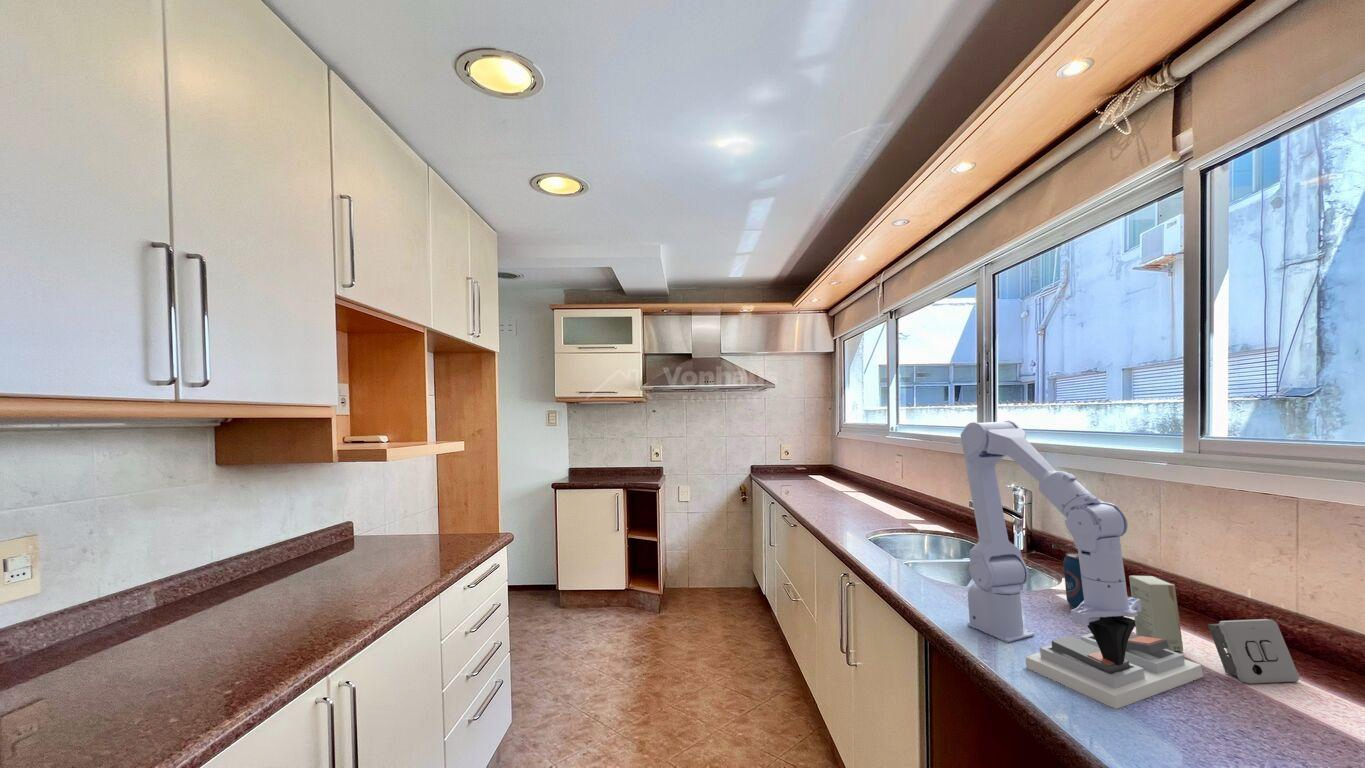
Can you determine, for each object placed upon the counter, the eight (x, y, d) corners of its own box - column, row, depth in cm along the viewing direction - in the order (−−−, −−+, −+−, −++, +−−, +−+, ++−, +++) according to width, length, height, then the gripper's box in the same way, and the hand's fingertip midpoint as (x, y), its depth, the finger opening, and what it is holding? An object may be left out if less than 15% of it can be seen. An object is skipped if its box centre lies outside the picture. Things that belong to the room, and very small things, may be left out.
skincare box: (1184, 652, 93) (1177, 585, 94) (1157, 651, 94) (1150, 584, 95) (1159, 637, 99) (1152, 574, 100) (1134, 636, 100) (1128, 574, 101)
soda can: (1060, 602, 119) (1055, 551, 120) (1092, 602, 118) (1087, 551, 119) (1079, 614, 112) (1074, 559, 113) (1113, 614, 111) (1108, 559, 112)
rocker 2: (1094, 643, 92) (1092, 635, 93) (1111, 638, 94) (1109, 630, 94) (1151, 653, 84) (1148, 644, 85) (1169, 647, 86) (1166, 638, 86)
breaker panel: (1026, 668, 90) (1024, 647, 90) (1108, 643, 98) (1106, 624, 98) (1116, 709, 77) (1113, 684, 77) (1202, 677, 85) (1200, 655, 85)
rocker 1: (1051, 647, 89) (1051, 639, 89) (1070, 642, 91) (1070, 634, 91) (1109, 674, 80) (1109, 666, 80) (1129, 668, 82) (1129, 659, 82)
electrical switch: (1245, 685, 82) (1233, 625, 83) (1212, 673, 87) (1201, 616, 88) (1302, 683, 82) (1288, 623, 83) (1265, 670, 87) (1253, 614, 88)
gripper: (1101, 590, 77) (1113, 682, 76) (1158, 577, 82) (1170, 663, 81) (1054, 578, 84) (1064, 663, 82) (1109, 567, 89) (1120, 647, 87)
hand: (1113, 662), depth 82 cm, fingers closed, pressing on rocker 1
